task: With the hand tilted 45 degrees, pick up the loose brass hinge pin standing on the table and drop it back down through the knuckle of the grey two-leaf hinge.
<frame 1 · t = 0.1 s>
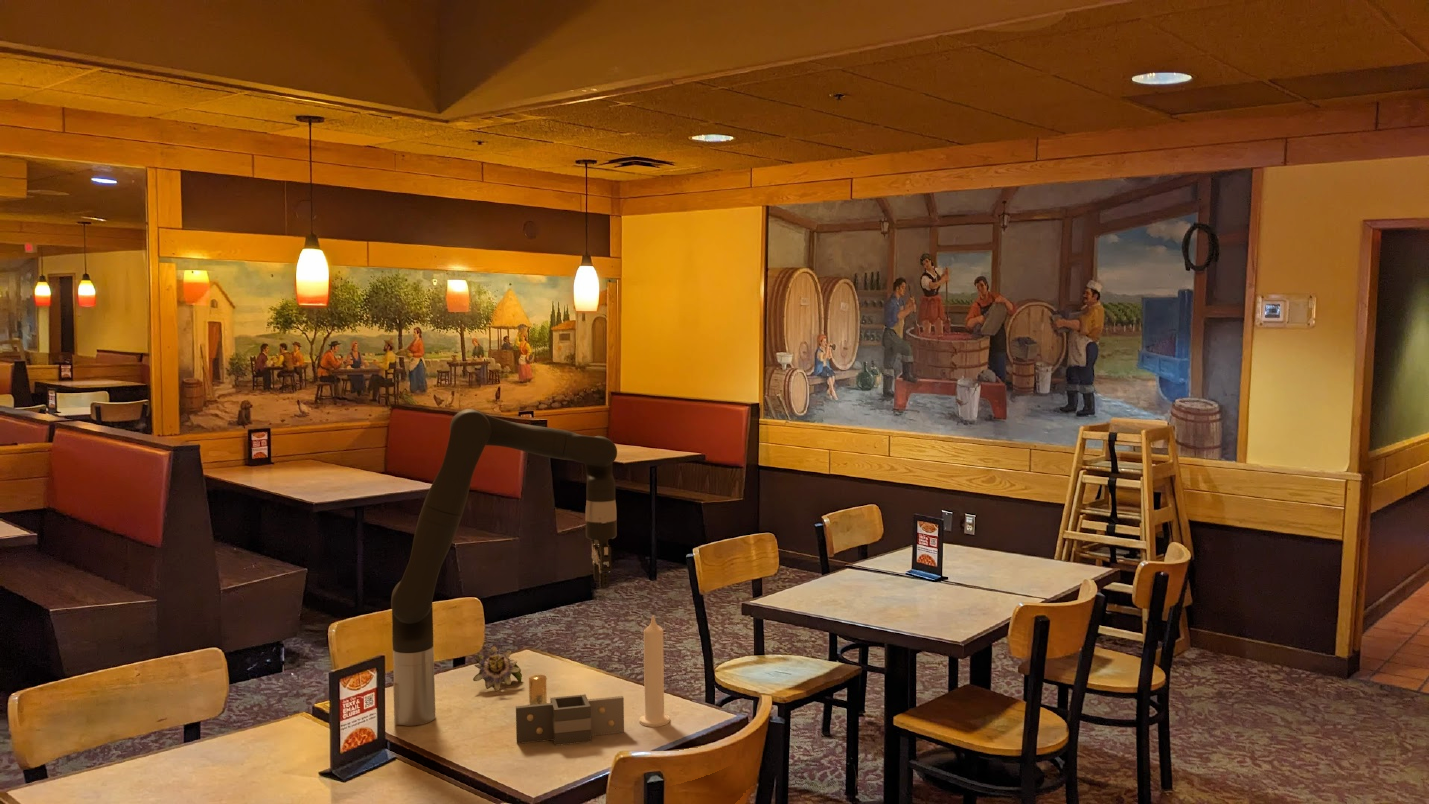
hand: (601, 584, 261), 29 cm above the table, tool pointing down, fingers open, 8 cm apart
candle: (654, 722, 249), on the table
passion flower: (497, 686, 275), on the table
hinge pin: (538, 719, 251), on the table
hinge: (570, 736, 240), on the table
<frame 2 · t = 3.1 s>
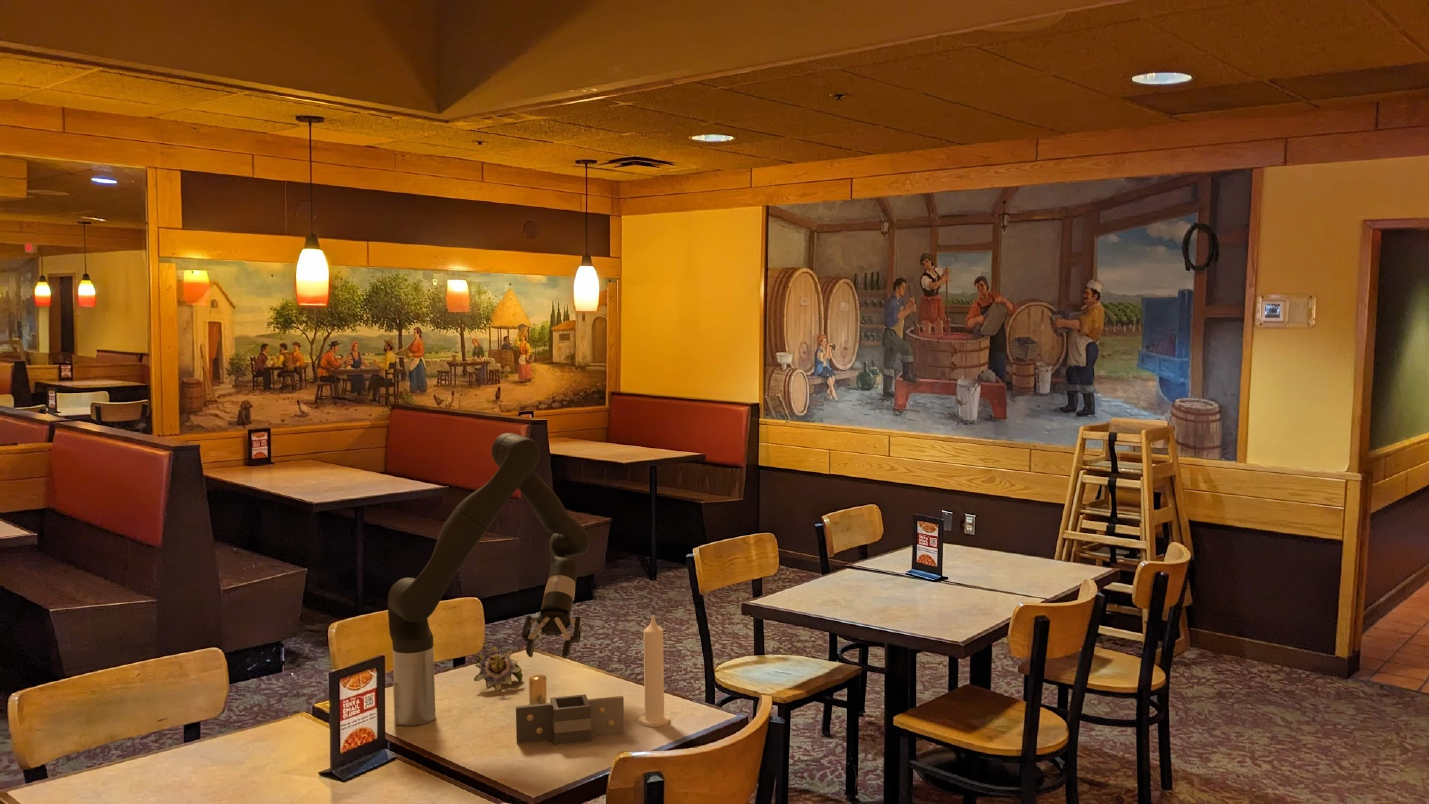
hand: (546, 656, 258), 12 cm above the table, tool tilted 45°, fingers open, 8 cm apart
nothing on the table moved.
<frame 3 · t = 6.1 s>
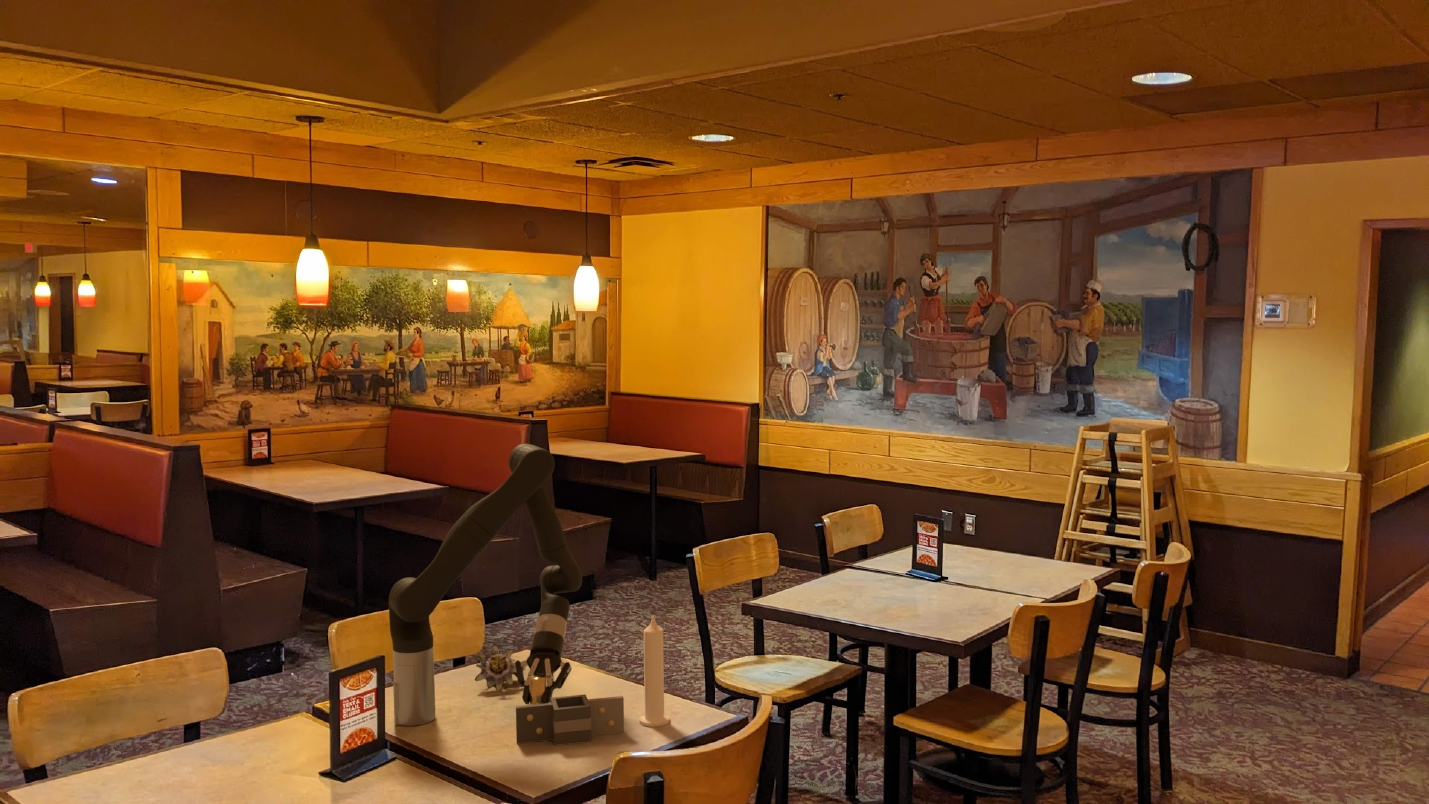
hand: (535, 703, 249), 5 cm above the table, tool tilted 45°, fingers closed on hinge pin, 4 cm apart
hinge pin: (538, 719, 251), on the table, touching gripper
everything else where it was.
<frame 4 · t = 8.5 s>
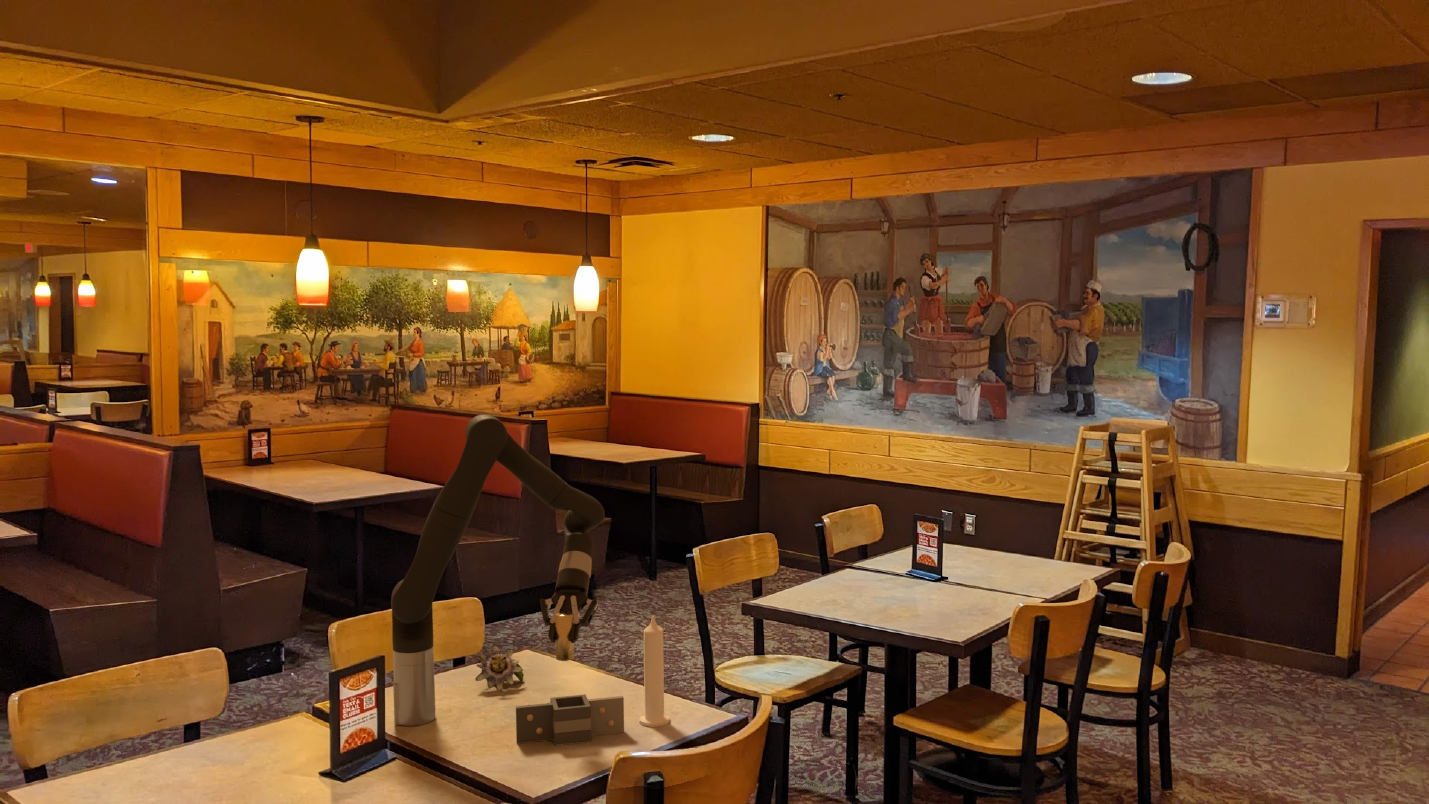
hand: (562, 640, 239), 22 cm above the table, tool tilted 45°, fingers closed on hinge pin, 4 cm apart
hinge pin: (565, 658, 241), point 17 cm above the table, touching gripper
everything else where it was.
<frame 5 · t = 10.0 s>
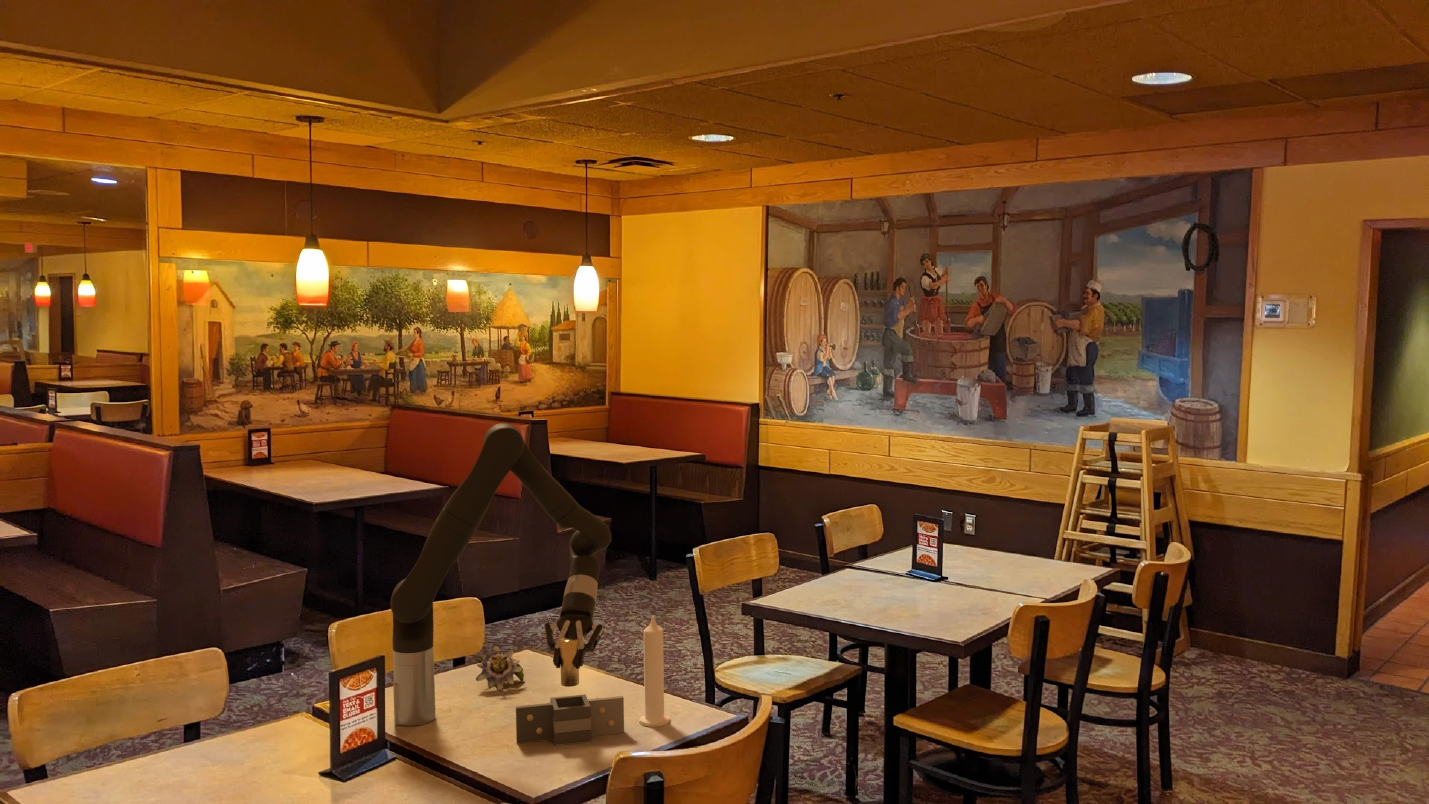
hand: (567, 666, 237), 17 cm above the table, tool tilted 45°, fingers closed on hinge pin, 4 cm apart
hinge pin: (570, 683, 239), point 12 cm above the table, touching gripper
everything else where it was.
when the fingers open (14 cm above the table, at t = 11.0 s): hinge pin drops 9 cm, resting in hinge.
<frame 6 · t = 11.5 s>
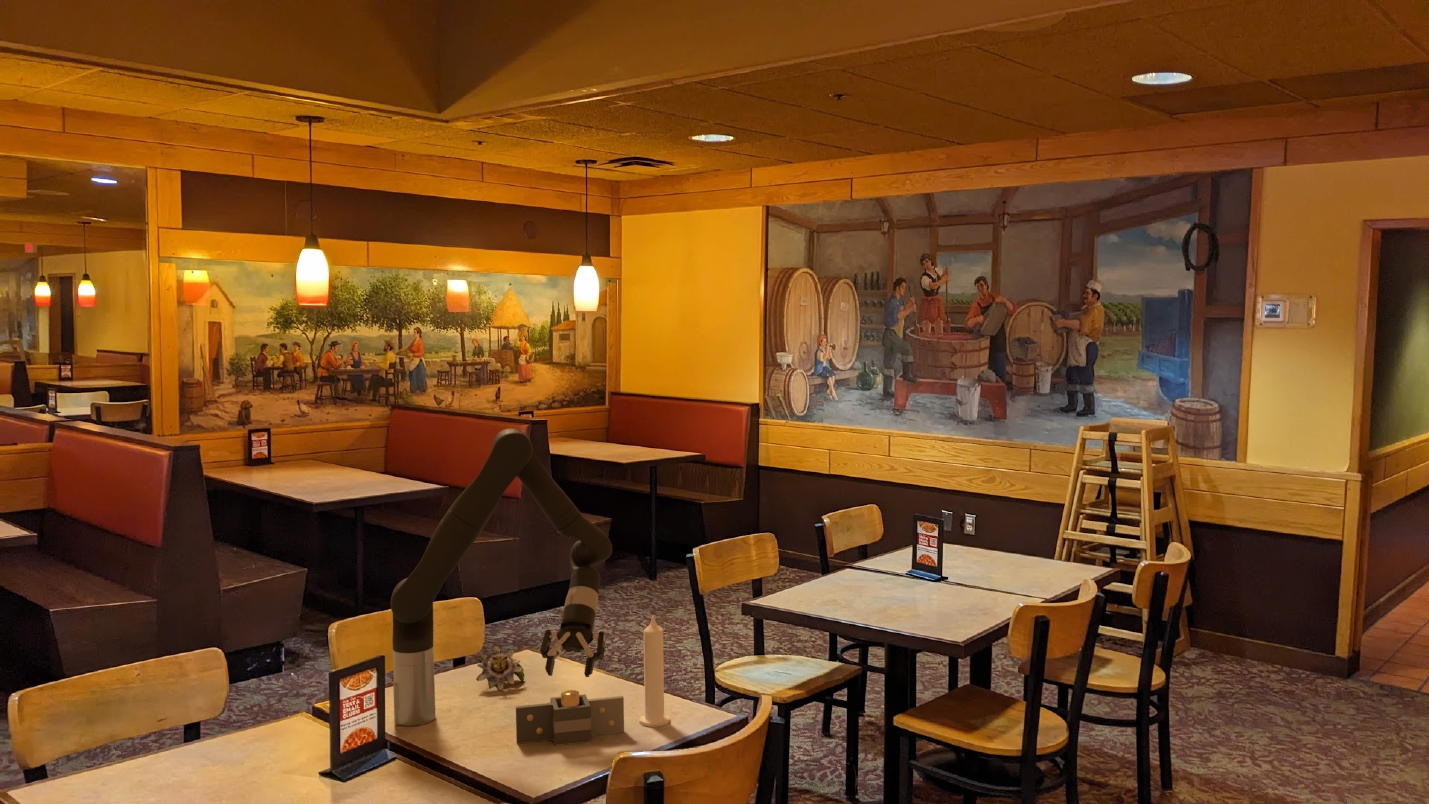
hand: (568, 674, 238), 15 cm above the table, tool tilted 45°, fingers open, 8 cm apart
hinge pin: (570, 736, 240), resting in hinge
everything else where it was.
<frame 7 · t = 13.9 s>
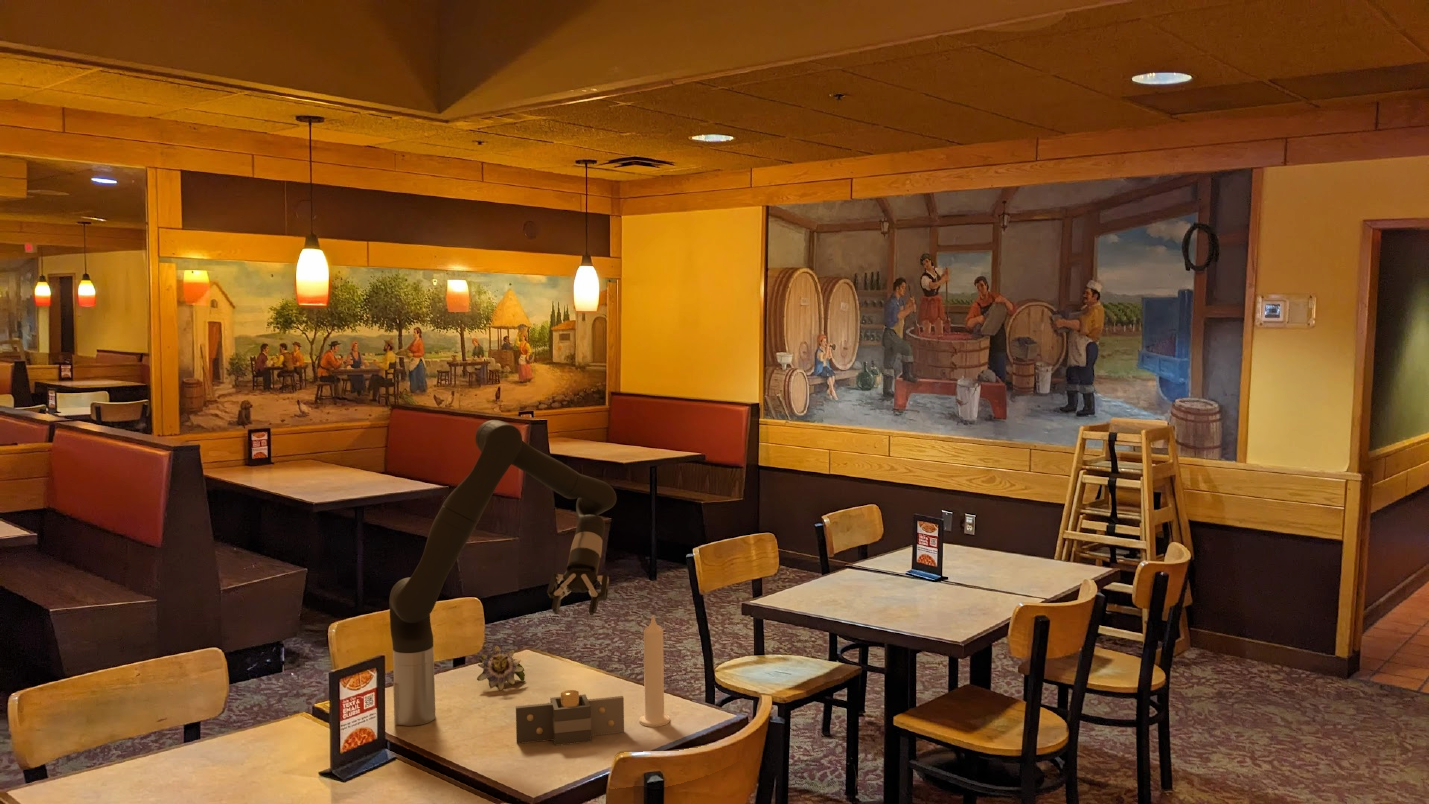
hand: (573, 613, 251), 25 cm above the table, tool tilted 45°, fingers open, 8 cm apart
nothing on the table moved.
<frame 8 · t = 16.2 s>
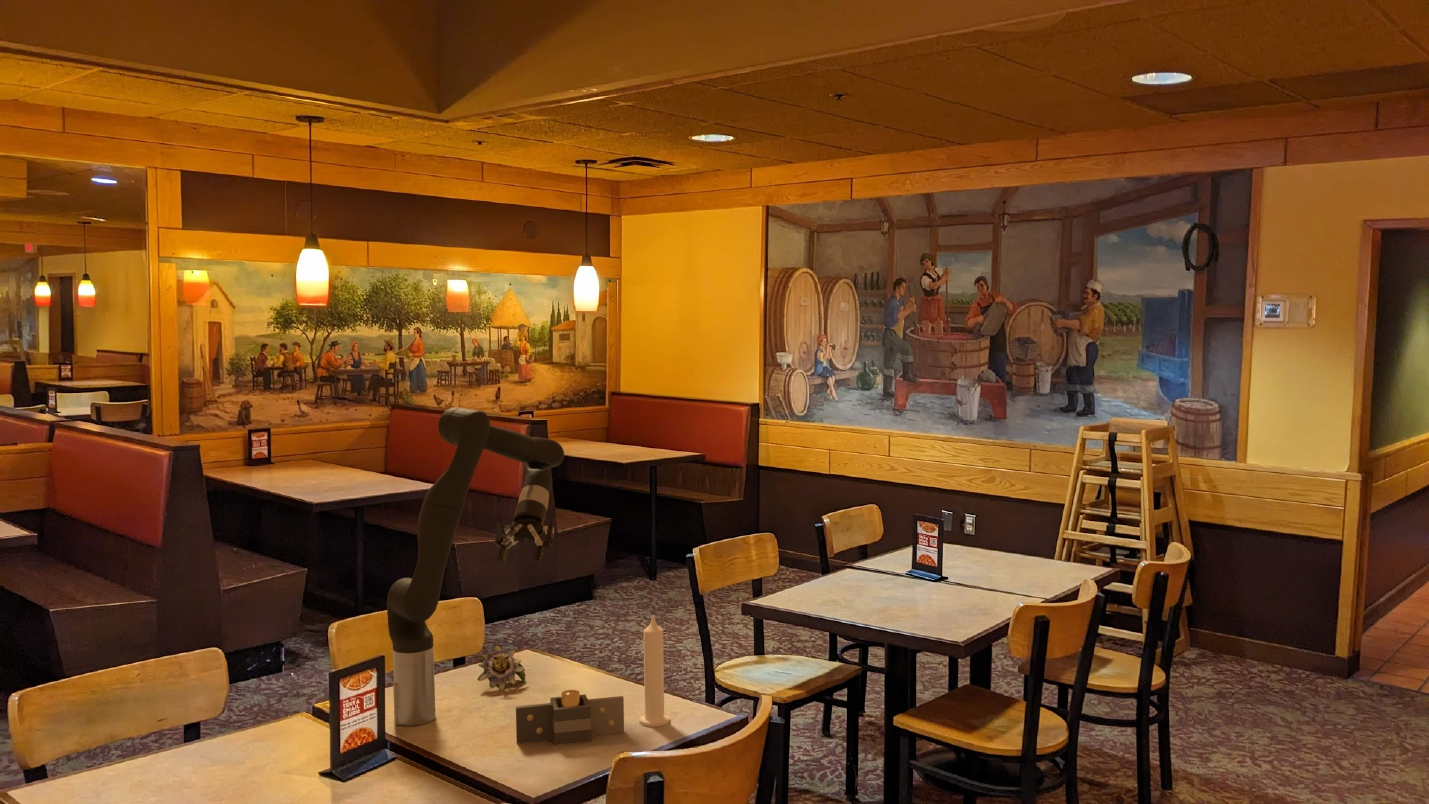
hand: (519, 561, 262), 35 cm above the table, tool tilted 45°, fingers open, 8 cm apart
nothing on the table moved.
at the end: hinge pin 0.1 cm off-centre on the hinge, point 0.0 cm above the hinge's base; hinge pin tilted 1°; the gripper is holding nothing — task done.
